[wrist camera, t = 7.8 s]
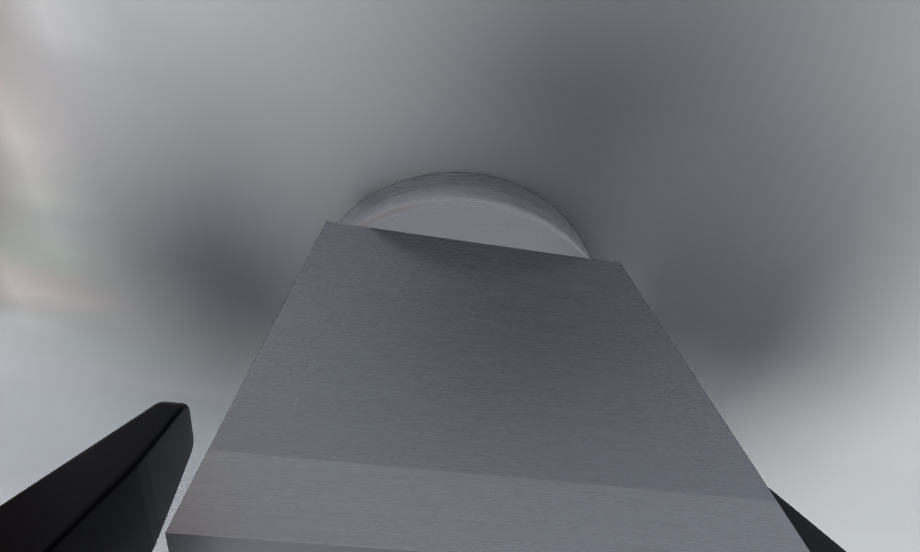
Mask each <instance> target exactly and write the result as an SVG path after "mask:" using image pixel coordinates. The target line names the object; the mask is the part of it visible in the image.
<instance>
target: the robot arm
mask: <svg viewBox="0 0 920 552" xmlns="http://www.w3.org/2000/svg"><path fill="white" fill-rule="evenodd" d="M192 448H193V431H192V423H191V416H190V410H189V407H188V406H187V405H186V404H184V403H175V402H159V403H157V404H155V405H153V406H152V407H150V408H149V409H147V410H146V411H144V412H143V413H141V414H140V415H138V416H137V417H135V418H134V419H132V420H131V421H129V422H127V423H126V424H124V425H123V426H121V427H120V428H118V429H117V430H115V431H114V432H112V433H111V434H109V435H108V436H106V437H105V438H103V439H102V440H100V441H98V442H97V443H95V444H94V445H92V446H91V447H89V448H88V449H86V450H85V451H83V452H82V453H80V454H79V455H77V456H76V457H74V458H72V459H71V460H69V461H68V462H66V463H65V464H63V465H62V466H60V467H59V468H57V469H56V470H54V471H53V472H51V473H50V474H48V475H46V476H45V477H43V478H42V479H40V480H39V481H37V482H36V483H34V484H33V485H31V486H30V487H28V488H27V489H25V490H24V491H22V492H21V493H19V494H17V495H16V496H14V497H13V498H11V499H10V500H8V501H7V502H5V503H4V504H2V505H1V506H0V552H152V551H153V549H154V547H155V544H156V542H157V539H158V537H159V535H160V532H161V530H162V527H163V525H164V522H165V519H166V517H167V514H168V512H169V509H170V506H171V504H172V501H173V499H174V496H175V494H176V491H177V488H178V486H179V483H180V481H181V478H182V476H183V473H184V470H185V468H186V465H187V463H188V460H189V457H190V455H191V452H192ZM769 490H770V491H771V493H772V494H773V496H774V498H775V499H776V501H777V502H778V504H779V505H780V507H781V508H782V510H783V511H784V513H785V514H786V516H787V517H788V519H789V520H790V522H791V523H792V525H793V526H794V528H795V529H796V531H797V533H798V534H799V536H800V537H801V539H802V540H803V542H804V543H805V545H806V546H807V548H808V549H809V551H810V552H846V551H845V550H844V549H842V548H841V547H840V546H839V545H838V544H836V543H835V542H834V541H833V540H831V539H830V538H829V537H828V536H827V535H825V534H824V533H823V532H822V531H821V530H819V529H818V528H817V527H816V526H815V525H813V524H812V523H811V522H810V521H808V520H807V519H806V518H805V517H804V516H802V515H801V514H800V513H799V512H798V511H796V510H795V509H794V508H793V507H791V506H790V505H789V504H788V503H787V502H785V501H784V500H783V499H782V498H781V497H779V496H778V495H777V494H776V493H774V492H773V491H772V490H771V489H770V488H769Z"/></svg>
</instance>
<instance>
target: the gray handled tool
mask: <svg viewBox="0 0 920 552" xmlns="http://www.w3.org/2000/svg"><path fill="white" fill-rule="evenodd" d="M339 223H341V224H348V225H355V226H363V227H370V228H377V229H384V230H391V231H398V232H405V233H412V234H419V235H426V236H433V237H440V238H447V239H454V240H461V241H468V242H475V243H483V244H490V245H497V246H504V247H511V248H518V249H525V250H532V251H539V252H546V253H553V254H560V255H567V256H574V257H581V258H588V259H591V258H590V256H589V254H588V252H587V251H586V249H585V247H584V245H583V243H582V242H581V240H580V238H579V236H578V234H577V233H576V231H575V230H574V229H573V228H572V226H571V225H570V224H569V222H568V221H567V220H566V219H565V218H564V217H563V216H562V215H561V214H560V213H559V212H558V211H557V210H556V209H555V208H554V207H553V206H552V205H550V204H549V203H547V202H546V201H545V200H543V199H542V198H540V197H539V196H538V195H536V194H534V193H532V192H530V191H528V190H526V189H524V188H522V187H521V186H518V185H516V184H513V183H510V182H507V181H504V180H502V179H498V178H494V177H489V176H485V175H480V174H469V173H437V174H431V175H425V176H419V177H414V178H411V179H408V180H405V181H401V182H398V183H395V184H393V185H391V186H389V187H387V188H384V189H382V190H380V191H378V192H376V193H375V194H373V195H371V196H370V197H368V198H367V199H365V200H364V201H362V202H360V203H359V204H358V205H357V206H356V207H355V208H353V209H352V210H351V211H350V212H349V213H348V214H346V215H345V217H344V218H343V219H342V220H341V221H340V222H339Z"/></svg>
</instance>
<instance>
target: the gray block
mask: <svg viewBox="0 0 920 552" xmlns="http://www.w3.org/2000/svg"><path fill="white" fill-rule="evenodd" d="M165 534H166V539H167V545H168V550H169V552H810V551H809V549H808V548H807V546H806V545H805V543H804V542H803V540H802V539H801V537H800V536H799V534H798V533H797V531H796V529H795V528H794V526H793V525H792V523H791V522H790V520H789V519H788V517H787V516H786V514H785V513H784V511H783V510H782V508H781V507H780V505H779V504H778V502H777V501H776V499H775V498H774V496H773V494H772V493H771V491H770V490H769V488H768V487H767V485H766V484H765V482H764V481H763V479H762V478H761V476H760V475H759V473H758V472H757V470H756V469H755V467H754V466H753V464H752V463H751V461H750V460H749V458H748V456H747V455H746V453H745V452H744V450H743V449H742V447H741V446H740V444H739V443H738V441H737V440H736V438H735V437H734V435H733V434H732V432H731V431H730V429H729V428H728V426H727V425H726V423H725V421H724V420H723V418H722V417H721V415H720V414H719V412H718V411H717V409H716V408H715V406H714V405H713V403H712V402H711V400H710V399H709V397H708V396H707V394H706V393H705V391H704V390H703V388H702V387H701V385H700V383H699V382H698V380H697V379H696V377H695V376H694V374H693V373H692V371H691V370H690V368H689V367H688V365H687V364H686V362H685V361H684V359H683V358H682V356H681V355H680V353H679V352H678V350H677V349H676V347H675V345H674V344H673V342H672V341H671V339H670V338H669V336H668V335H667V333H666V332H665V330H664V329H663V327H662V326H661V324H660V323H659V321H658V320H657V318H656V317H655V315H654V314H653V312H652V310H651V309H650V307H649V306H648V304H647V303H646V301H645V300H644V298H643V297H642V295H641V294H640V292H639V291H638V289H637V288H636V286H635V285H634V283H633V282H632V280H631V279H630V277H629V276H628V274H627V272H626V271H625V269H624V268H623V266H622V265H621V263H617V262H610V261H603V260H596V259H588V258H581V257H574V256H567V255H560V254H553V253H546V252H539V251H532V250H525V249H518V248H511V247H504V246H497V245H490V244H483V243H475V242H468V241H461V240H454V239H447V238H440V237H433V236H426V235H419V234H412V233H405V232H398V231H391V230H384V229H377V228H370V227H363V226H355V225H348V224H341V223H334V222H326V223H325V225H324V227H323V229H322V231H321V233H320V235H319V237H318V239H317V241H316V243H315V245H314V247H313V249H312V250H311V252H310V254H309V256H308V258H307V260H306V262H305V264H304V266H303V268H302V270H301V272H300V274H299V276H298V278H297V279H296V281H295V283H294V285H293V287H292V289H291V291H290V293H289V295H288V297H287V299H286V301H285V303H284V305H283V306H282V308H281V310H280V312H279V314H278V316H277V318H276V320H275V322H274V324H273V326H272V328H271V330H270V332H269V334H268V335H267V337H266V339H265V341H264V343H263V345H262V347H261V349H260V351H259V353H258V355H257V357H256V359H255V361H254V363H253V364H252V366H251V368H250V370H249V372H248V374H247V376H246V378H245V380H244V382H243V384H242V386H241V388H240V390H239V391H238V393H237V395H236V397H235V399H234V401H233V403H232V405H231V407H230V409H229V411H228V413H227V415H226V417H225V419H224V420H223V422H222V424H221V426H220V428H219V430H218V432H217V434H216V436H215V438H214V440H213V442H212V444H211V446H210V447H209V449H208V451H207V453H206V455H205V457H204V459H203V461H202V463H201V465H200V467H199V469H198V471H197V473H196V475H195V476H194V478H193V480H192V482H191V484H190V486H189V488H188V490H187V492H186V494H185V496H184V498H183V500H182V502H181V504H180V505H179V507H178V509H177V511H176V513H175V515H174V517H173V519H172V521H171V523H170V525H169V527H168V529H167V531H166V532H165Z"/></svg>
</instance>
